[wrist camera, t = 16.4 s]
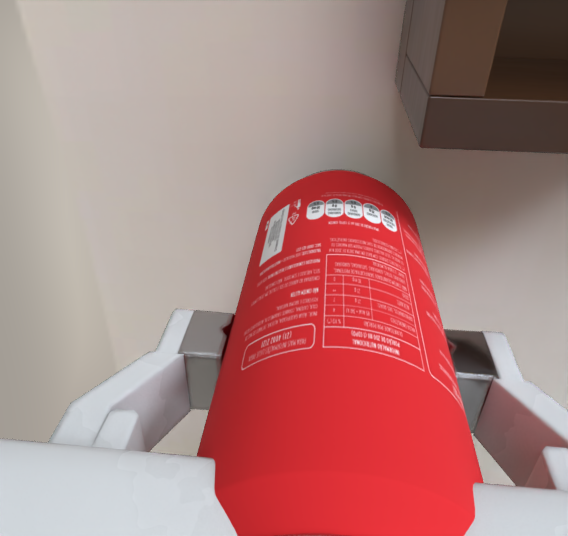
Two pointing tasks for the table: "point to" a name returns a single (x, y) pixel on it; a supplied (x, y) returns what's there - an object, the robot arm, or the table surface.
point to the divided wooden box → (486, 74)
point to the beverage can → (340, 376)
